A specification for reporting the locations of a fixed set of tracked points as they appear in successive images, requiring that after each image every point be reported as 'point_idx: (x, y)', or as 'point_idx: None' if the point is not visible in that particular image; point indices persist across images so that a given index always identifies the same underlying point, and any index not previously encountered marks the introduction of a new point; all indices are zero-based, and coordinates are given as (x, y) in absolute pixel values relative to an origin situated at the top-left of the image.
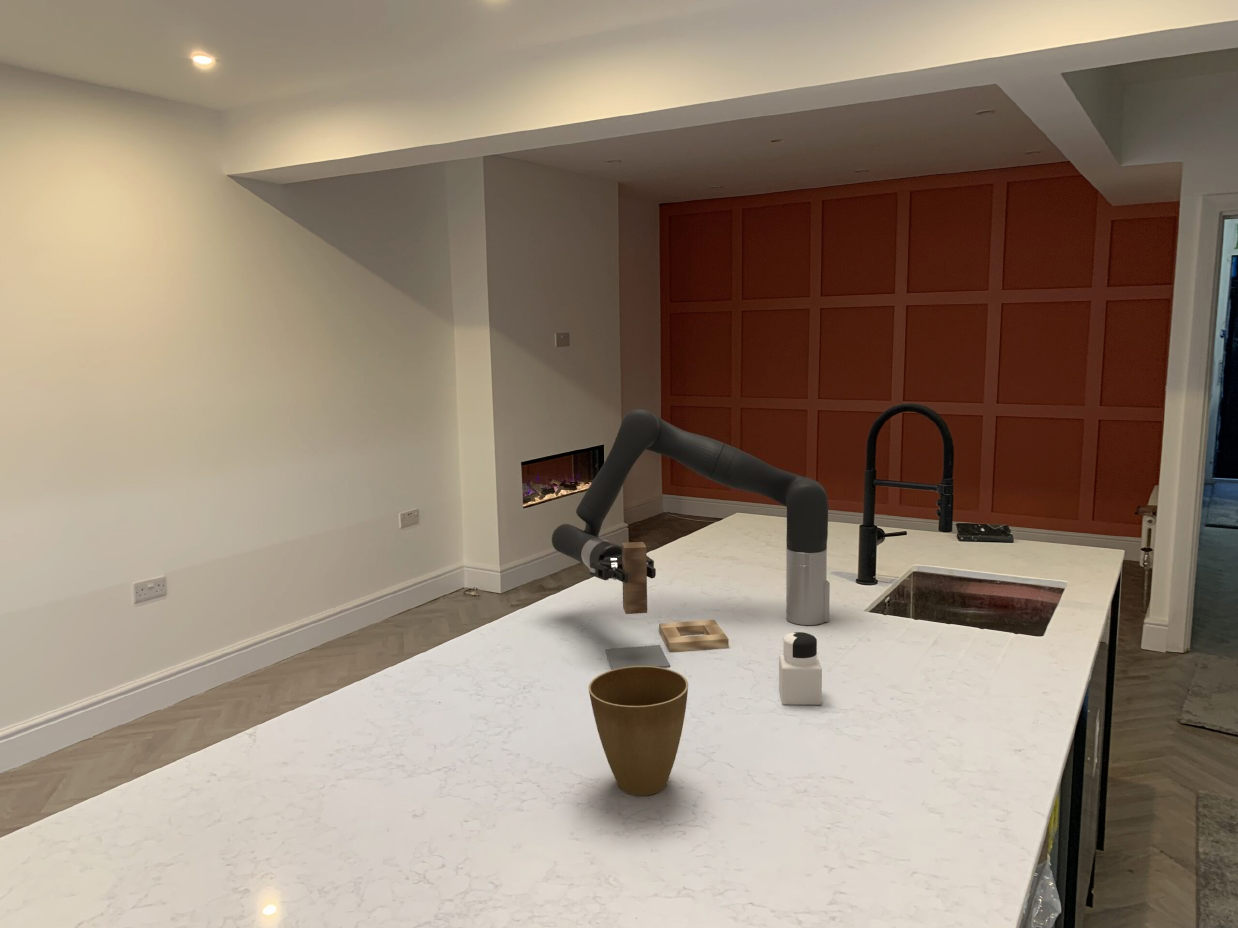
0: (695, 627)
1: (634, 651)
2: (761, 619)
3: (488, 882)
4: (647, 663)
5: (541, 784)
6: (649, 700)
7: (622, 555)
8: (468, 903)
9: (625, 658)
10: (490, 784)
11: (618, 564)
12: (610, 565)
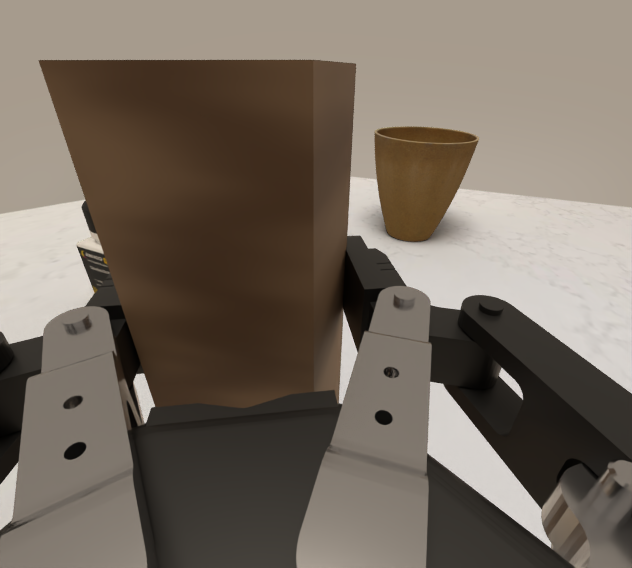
0: None
1: None
2: None
3: (521, 204)
4: None
5: (507, 248)
6: (402, 179)
7: (324, 213)
8: (528, 199)
9: None
10: (564, 257)
11: (332, 392)
12: (427, 456)
